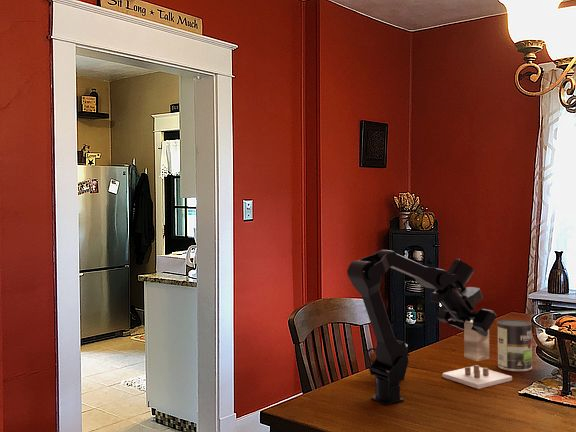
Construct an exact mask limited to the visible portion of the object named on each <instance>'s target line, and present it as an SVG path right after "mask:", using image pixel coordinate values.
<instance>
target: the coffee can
mask: <svg viewBox="0 0 576 432" xmlns="http://www.w3.org/2000/svg"><path fill="white" fill-rule="evenodd" d="M496 324H497V367H498V368H499V369H501V370H503V371H504V370H505V371H509V372H528V371H531V370H532V369H533V365H532V364H533V363H532V361H533V360H532V359H533V358H532V354H533V353H532V351H533V347H532V346H533V345H532V342H533V341H532V336H533V335H532V333H533V332H532V331H533V329H532V328H533V327H532V326H533V323H532V322H530V321H527V320H521V319H520V320H519V319H502V320H498V321H496Z"/></svg>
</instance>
